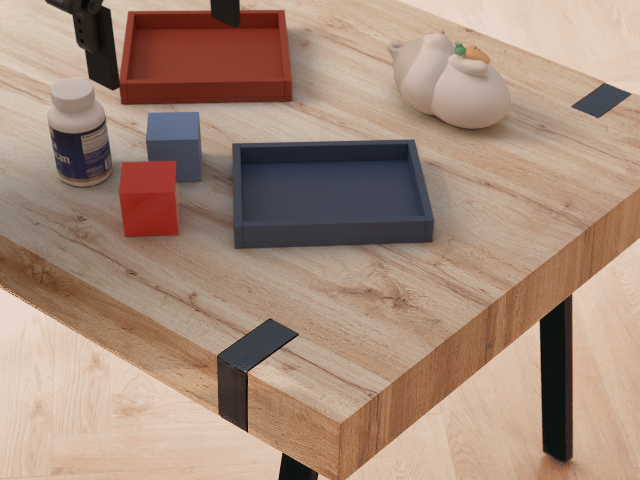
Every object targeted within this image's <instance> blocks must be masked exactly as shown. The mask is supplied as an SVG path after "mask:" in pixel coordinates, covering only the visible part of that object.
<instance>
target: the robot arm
mask: <svg viewBox="0 0 640 480" xmlns="http://www.w3.org/2000/svg"><path fill="white" fill-rule="evenodd" d="M44 1H45V3H46V4H47V5H49V6H51V7H54V8H56V9H57V10H60V11H62V12H64V13H66V14H69V15H71V16H72V23H73V28H74V34H75V43H76V44H77V46H78V47H79V48H80V49H82V50H84V54H85V61H86V68H87V73H88V74H87V75H88V80H89V81H93V82H95V83H96V84H98V85H100V86H102V87H104V88H107V89H108V90H110V91H113V92H114V91H116V90H118V89H119V88H120V81H119V78H120V72H119V65H118V58H117V50H116V42H115V34H114V27H113V26H114V25H113V19H112V11H111V9H110V8H108V7H106V6H104V5H103V3H104V0H44ZM209 3H210V5H209V6H210V10H211V18H214V19H216V20H218V21H220V22H223V23H225V24H227V25H230V26H232V27H234V28H235V27H237V26H239V25H241V22H240V10H241V0H209Z"/></svg>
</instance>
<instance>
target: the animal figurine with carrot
mask: <svg viewBox="0 0 640 480" xmlns="http://www.w3.org/2000/svg"><path fill="white" fill-rule="evenodd" d="M386 45H387V46H386V49H387V51H388V53H389V54H390V56H391V58H392V61H391V67H392V69H393V78H394V82H395V86H396V89H397V91H398V93H399V95H400V96H401V97H402V98H403V99H404V100H405V102H407V103H408V104H409V105H410V106H411V107H412V108H414V109H415V110H417V111H419V112H420V113H422V114H425V115H431V116H436V117H437V118H439V119H440V120H441V121H443V122H445V123H447V124H448V125H451V126H454V127H456V128H457V127H458V128H462V129H472V130H473V129H474V130H475V129H483V128H488V127H490V126H493V125H495V124H496V123H498V122H500V121H501V120H502V119H504V117H505V116H506V115H507V113H508V111H509V109H510V107H511V95H510V90H509V88H508V85H507V82H506V81H505V80H504V78H503V76H502V75H501V73H499V71H498V70H497V68H495V67H494V66H493V65H492V64H490V63H491V58H490V57H489V56H488V54H487V53H486V52H484V51H483V50H481V49H480V48H479V47H478V46H475V45H467V46H464V45H463V43H462V42H460V43H459V41H456V42H454V43H453V42H452V40H451V39H450V38H449V37H448V36H447V35H446V32H445V30H444V29H440V30H439V31H438V32H432V33H427V34H425V35H423V36H421V37H418V38H416V39H414V40H411V41H400V40H399V41H398V40H392V41H389V42H388V43H387V44H386Z"/></svg>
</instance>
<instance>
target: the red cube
mask: <svg viewBox="0 0 640 480" xmlns="http://www.w3.org/2000/svg"><path fill="white" fill-rule="evenodd" d="M179 185H180V184H179V182H178V174H177V163H176V161H148V160H147V161H123V162H122V163H121V171H120V179H119V188H118V189H119V190H118V198H119V205H120V213H121V219H122V226H123V227H122V228H123V233H124V236H125V237H143V236H145V237H147V236H177V235H179V234H180V218H181V217H180V214H181V199H180V187H179Z"/></svg>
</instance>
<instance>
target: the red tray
mask: <svg viewBox="0 0 640 480" xmlns="http://www.w3.org/2000/svg"><path fill="white" fill-rule="evenodd" d="M126 16H127V17H126V25H125V32H124V40H123V49H122V56H121V64H120V70H119V81H120V88H118V89H119V96H120V104H121V105H143V104H144V105H147V104H149V105H150V104H151V105H153V104H155V105H156V104H203V103H205V104H206V103H208V104H210V103H212V104H213V103H253V102H255V103H260V102H263V103H264V102H268V103H269V102H292V101H293V81H292V71H291V60H290V59H291V58H290V51H289V39H288V30H287V19H286V10H285V9H240V22H241V25H239V26H237V27H235V28H234V27H232V26H230V25H227V24H225V23H223V22H220V21H218V20H216V19H214V18H211V9H209V10H128V11H127V15H126Z"/></svg>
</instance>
